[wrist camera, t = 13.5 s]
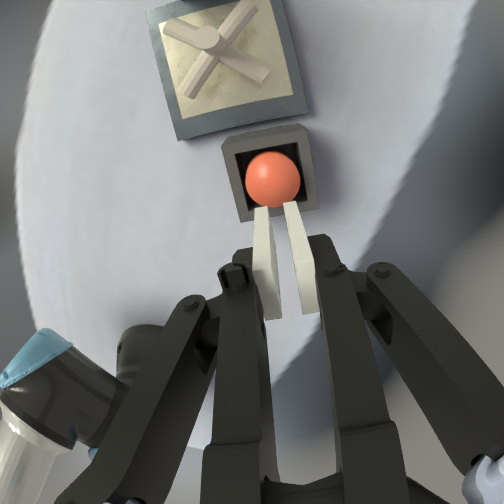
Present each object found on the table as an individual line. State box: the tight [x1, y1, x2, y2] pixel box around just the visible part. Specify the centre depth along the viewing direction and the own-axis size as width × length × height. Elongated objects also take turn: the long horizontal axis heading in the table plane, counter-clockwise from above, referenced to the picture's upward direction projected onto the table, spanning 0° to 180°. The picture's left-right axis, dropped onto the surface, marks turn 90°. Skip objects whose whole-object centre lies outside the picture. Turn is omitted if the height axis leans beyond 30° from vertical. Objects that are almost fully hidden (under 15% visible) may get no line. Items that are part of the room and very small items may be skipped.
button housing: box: [221, 124, 319, 223], centre depth 29 cm, size 8×8×6 cm
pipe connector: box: [162, 0, 272, 99], centre depth 20 cm, size 10×10×10 cm
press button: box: [245, 149, 300, 207], centre depth 27 cm, size 5×5×3 cm
